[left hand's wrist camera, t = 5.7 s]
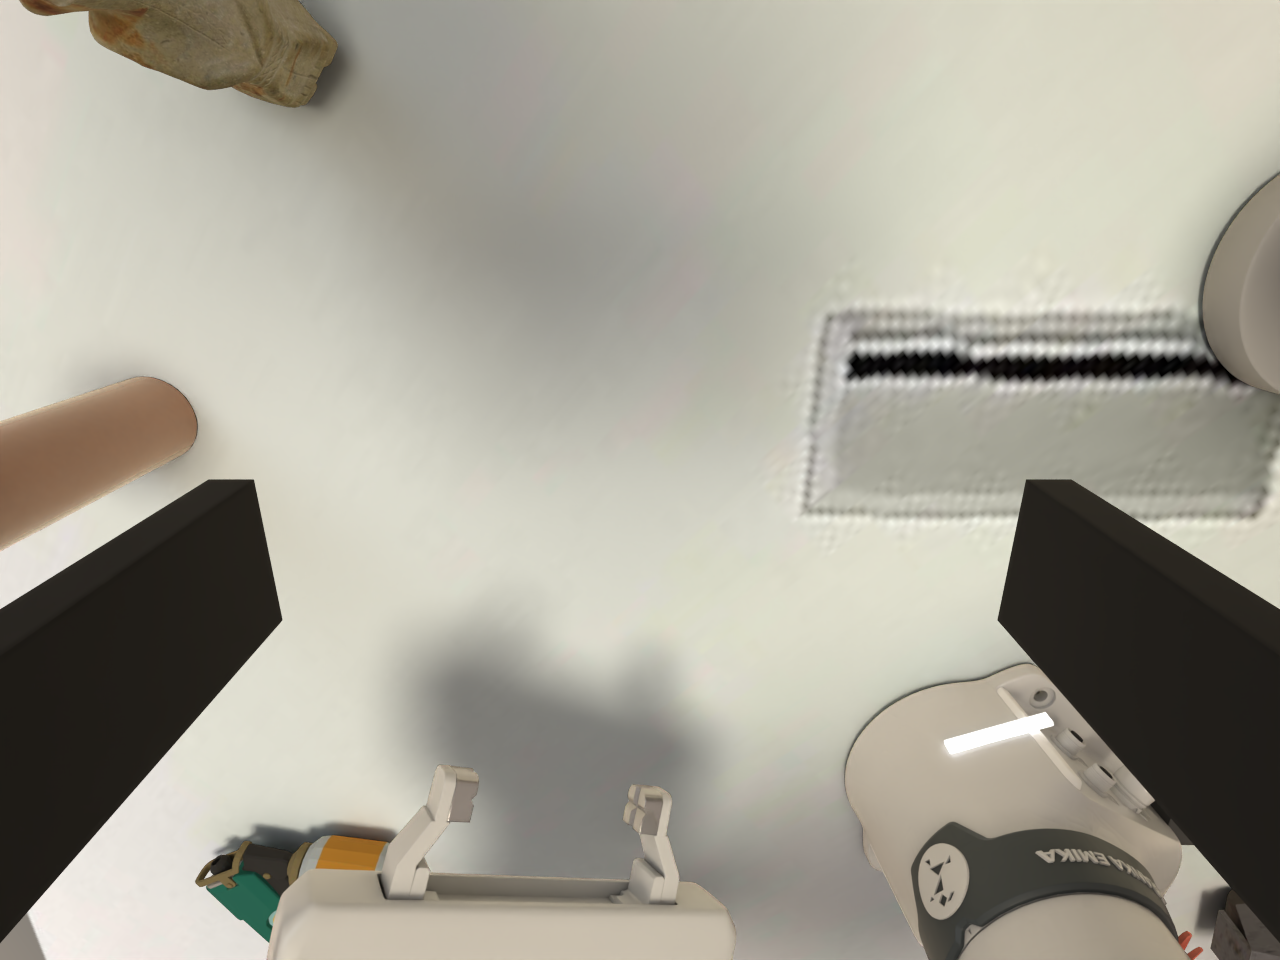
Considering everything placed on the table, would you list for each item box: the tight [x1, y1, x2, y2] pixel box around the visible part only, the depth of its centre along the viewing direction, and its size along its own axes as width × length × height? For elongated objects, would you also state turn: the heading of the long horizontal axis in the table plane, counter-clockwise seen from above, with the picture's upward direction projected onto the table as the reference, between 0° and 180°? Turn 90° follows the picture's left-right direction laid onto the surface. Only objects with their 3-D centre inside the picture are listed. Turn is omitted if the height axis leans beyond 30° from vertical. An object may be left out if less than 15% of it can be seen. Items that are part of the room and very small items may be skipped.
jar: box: [0, 377, 197, 551], centre depth 33 cm, size 5×5×15 cm
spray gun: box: [195, 835, 390, 942], centre depth 52 cm, size 4×17×15 cm
